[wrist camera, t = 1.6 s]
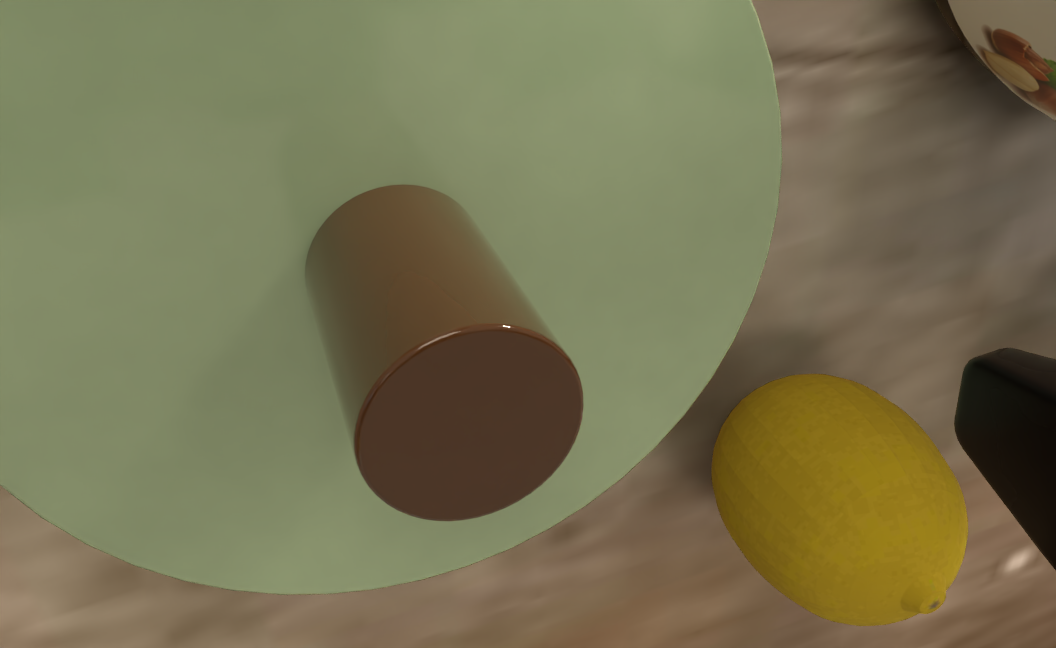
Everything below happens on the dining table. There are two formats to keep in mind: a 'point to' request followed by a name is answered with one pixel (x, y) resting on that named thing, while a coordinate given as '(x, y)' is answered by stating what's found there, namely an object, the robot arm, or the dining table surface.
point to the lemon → (840, 500)
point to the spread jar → (1011, 43)
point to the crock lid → (364, 268)
